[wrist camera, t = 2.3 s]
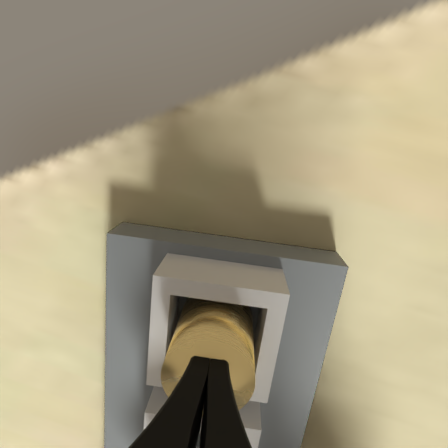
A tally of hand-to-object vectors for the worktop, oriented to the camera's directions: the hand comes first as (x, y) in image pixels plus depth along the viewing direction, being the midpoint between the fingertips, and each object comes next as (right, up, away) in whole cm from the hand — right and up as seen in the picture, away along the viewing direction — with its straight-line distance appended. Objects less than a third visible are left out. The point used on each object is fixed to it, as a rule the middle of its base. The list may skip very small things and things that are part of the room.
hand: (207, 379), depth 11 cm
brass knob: (0, +1, +4) cm, 4 cm away
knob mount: (-1, -5, +8) cm, 10 cm away
